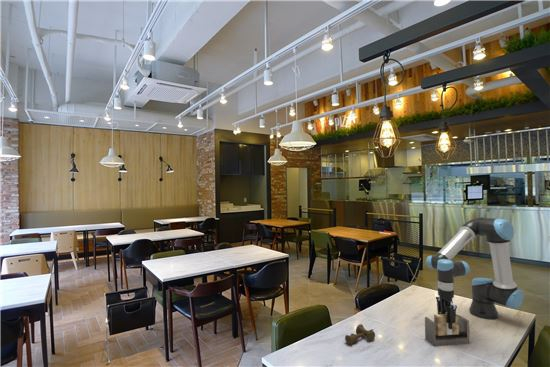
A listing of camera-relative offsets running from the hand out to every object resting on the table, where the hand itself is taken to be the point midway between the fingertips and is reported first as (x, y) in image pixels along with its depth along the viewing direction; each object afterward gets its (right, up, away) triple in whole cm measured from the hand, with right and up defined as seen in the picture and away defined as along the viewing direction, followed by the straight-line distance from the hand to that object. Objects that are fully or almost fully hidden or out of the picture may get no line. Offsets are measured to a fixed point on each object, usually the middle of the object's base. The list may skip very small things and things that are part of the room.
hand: (446, 332), depth 156 cm
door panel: (0, -1, 0) cm, 1 cm away
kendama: (-46, -6, +3) cm, 46 cm away
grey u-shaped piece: (0, -5, 0) cm, 5 cm away
